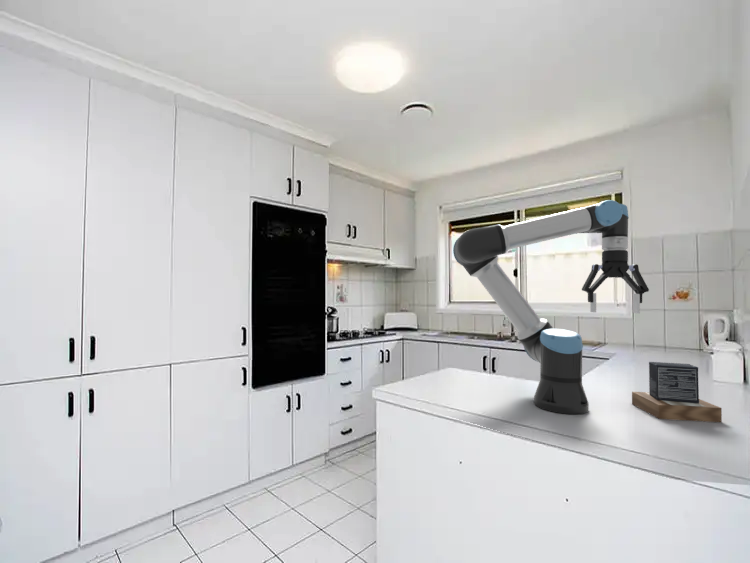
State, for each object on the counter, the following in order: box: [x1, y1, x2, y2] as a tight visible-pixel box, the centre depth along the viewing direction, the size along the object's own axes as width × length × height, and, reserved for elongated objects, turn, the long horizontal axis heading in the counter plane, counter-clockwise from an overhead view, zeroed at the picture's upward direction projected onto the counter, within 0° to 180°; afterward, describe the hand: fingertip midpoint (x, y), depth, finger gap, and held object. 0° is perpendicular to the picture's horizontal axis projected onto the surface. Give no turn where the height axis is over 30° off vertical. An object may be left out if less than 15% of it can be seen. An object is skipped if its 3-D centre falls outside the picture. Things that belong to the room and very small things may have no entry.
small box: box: [648, 361, 700, 403], centre depth 113 cm, size 11×6×10 cm, turn 72°
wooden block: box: [631, 391, 723, 423], centre depth 113 cm, size 16×14×4 cm
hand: (614, 312), depth 129 cm, fingers open, 13 cm apart
